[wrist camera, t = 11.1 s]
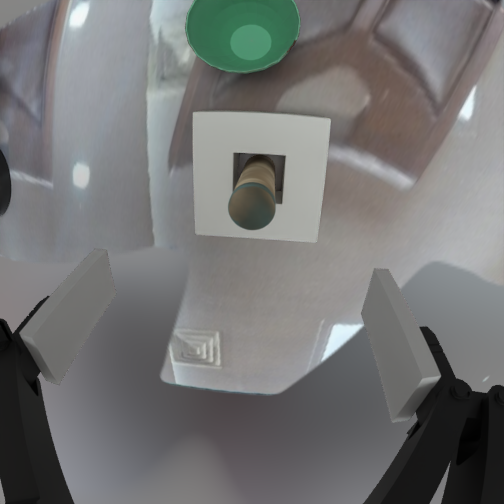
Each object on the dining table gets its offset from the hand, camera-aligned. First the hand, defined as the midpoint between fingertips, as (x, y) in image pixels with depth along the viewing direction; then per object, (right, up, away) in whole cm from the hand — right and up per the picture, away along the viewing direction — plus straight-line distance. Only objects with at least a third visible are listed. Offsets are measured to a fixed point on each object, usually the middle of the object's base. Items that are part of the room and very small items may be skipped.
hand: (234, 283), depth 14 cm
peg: (+2, +11, +22) cm, 24 cm away
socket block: (+2, +12, +21) cm, 24 cm away
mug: (+1, +28, +13) cm, 31 cm away
